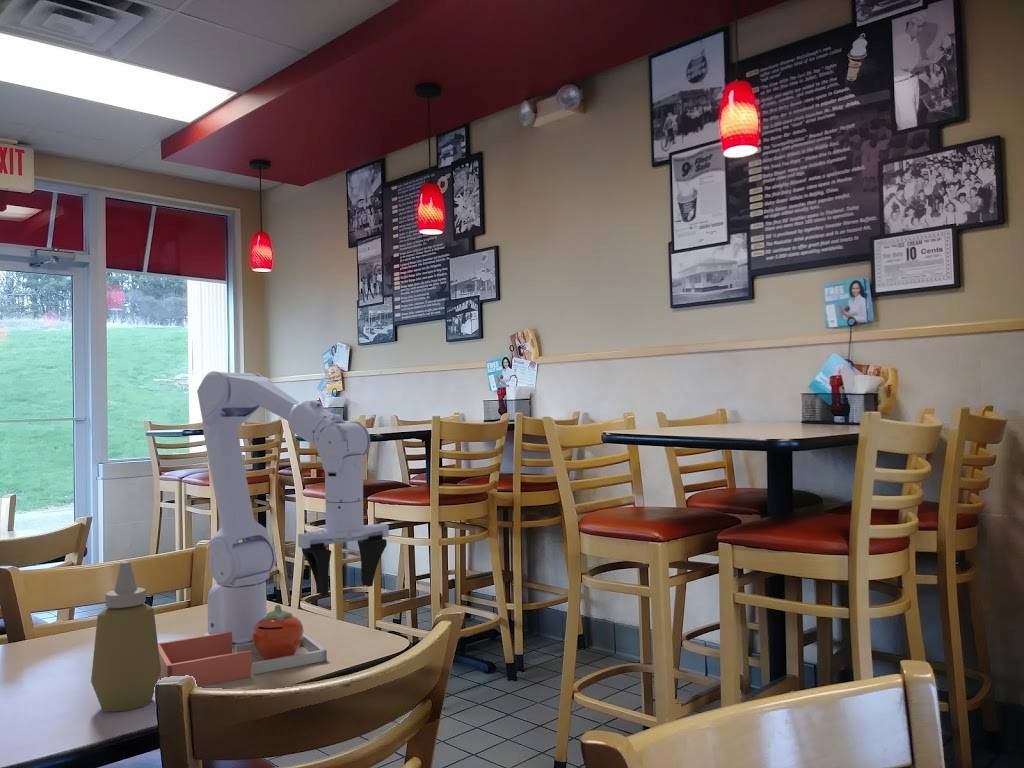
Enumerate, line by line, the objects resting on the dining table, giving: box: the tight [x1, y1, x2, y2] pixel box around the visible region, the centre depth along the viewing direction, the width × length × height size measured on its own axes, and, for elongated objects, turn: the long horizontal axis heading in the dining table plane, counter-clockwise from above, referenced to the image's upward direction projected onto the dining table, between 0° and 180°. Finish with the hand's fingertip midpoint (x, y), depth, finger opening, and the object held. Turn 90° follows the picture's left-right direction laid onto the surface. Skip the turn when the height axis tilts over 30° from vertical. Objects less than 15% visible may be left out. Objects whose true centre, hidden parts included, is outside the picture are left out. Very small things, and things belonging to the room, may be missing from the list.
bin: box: [158, 631, 252, 687], centre depth 114 cm, size 11×13×4 cm
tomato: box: [252, 604, 304, 660], centre depth 120 cm, size 7×7×8 cm
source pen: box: [235, 633, 328, 675], centre depth 120 cm, size 11×11×2 cm
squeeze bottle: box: [90, 561, 161, 712], centre depth 102 cm, size 8×8×18 cm
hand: (345, 589), depth 122 cm, fingers open, 7 cm apart
